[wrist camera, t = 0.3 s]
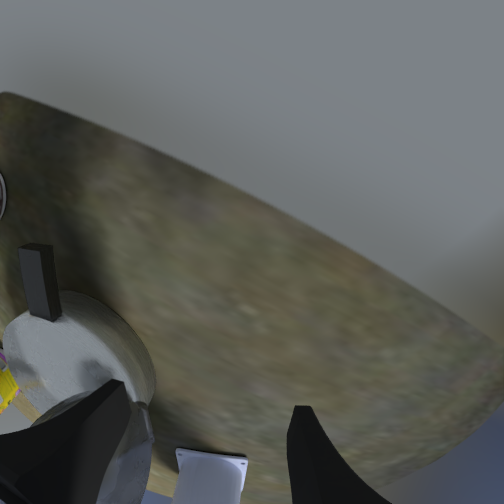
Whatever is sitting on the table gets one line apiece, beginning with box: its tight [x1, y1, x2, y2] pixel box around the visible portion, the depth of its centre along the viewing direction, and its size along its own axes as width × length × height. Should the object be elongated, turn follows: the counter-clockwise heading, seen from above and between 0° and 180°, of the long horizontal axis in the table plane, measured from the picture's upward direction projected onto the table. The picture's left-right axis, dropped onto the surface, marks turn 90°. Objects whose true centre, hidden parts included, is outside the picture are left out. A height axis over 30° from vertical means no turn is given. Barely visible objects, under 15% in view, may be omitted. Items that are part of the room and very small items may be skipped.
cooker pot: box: [3, 243, 156, 415], centre depth 19 cm, size 19×14×6 cm
